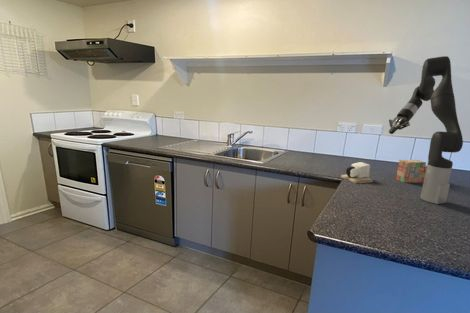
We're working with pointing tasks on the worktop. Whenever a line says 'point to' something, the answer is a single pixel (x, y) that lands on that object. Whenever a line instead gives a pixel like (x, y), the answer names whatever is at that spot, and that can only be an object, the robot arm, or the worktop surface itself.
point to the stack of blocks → (411, 171)
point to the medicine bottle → (358, 170)
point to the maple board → (357, 179)
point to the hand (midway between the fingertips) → (390, 132)
